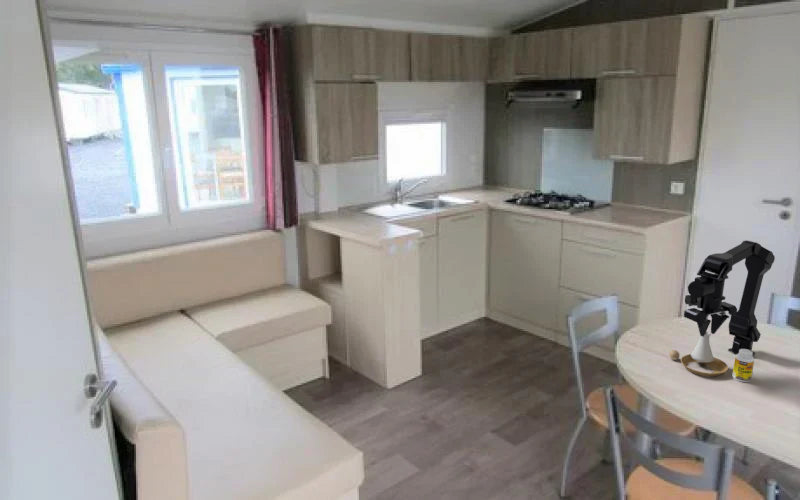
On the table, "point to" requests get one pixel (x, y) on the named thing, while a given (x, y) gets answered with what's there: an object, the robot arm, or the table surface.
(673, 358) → the beige ball
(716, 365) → the plant saucer
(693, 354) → the flask
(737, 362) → the supplement bottle
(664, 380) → the table surface
